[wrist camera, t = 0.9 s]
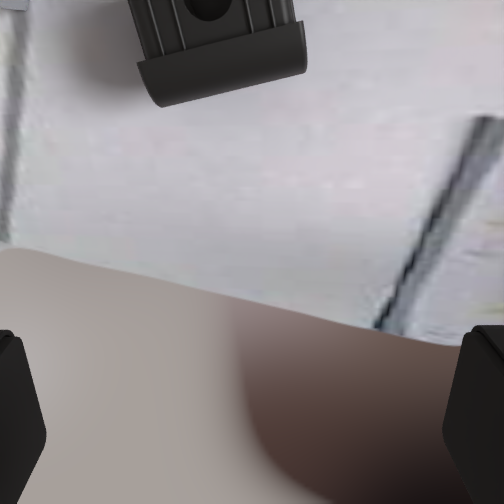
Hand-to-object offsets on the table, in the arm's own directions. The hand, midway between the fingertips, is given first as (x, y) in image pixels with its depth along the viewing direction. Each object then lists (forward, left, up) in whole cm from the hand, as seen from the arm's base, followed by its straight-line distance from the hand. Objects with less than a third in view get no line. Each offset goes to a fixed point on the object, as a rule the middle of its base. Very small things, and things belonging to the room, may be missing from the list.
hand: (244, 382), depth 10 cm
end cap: (-5, -4, -28) cm, 29 cm away
